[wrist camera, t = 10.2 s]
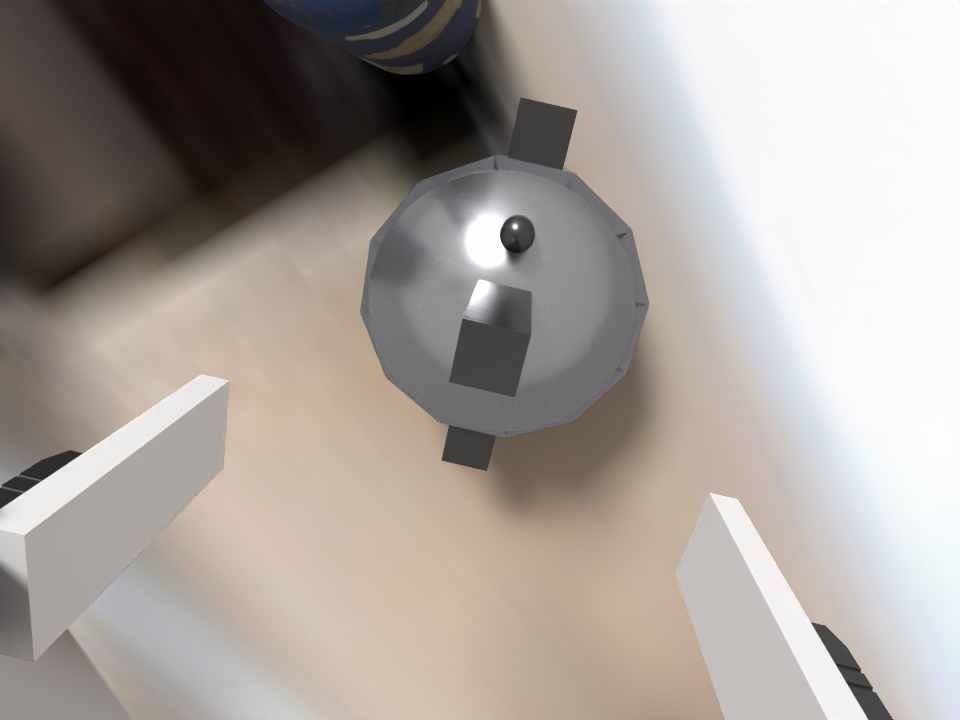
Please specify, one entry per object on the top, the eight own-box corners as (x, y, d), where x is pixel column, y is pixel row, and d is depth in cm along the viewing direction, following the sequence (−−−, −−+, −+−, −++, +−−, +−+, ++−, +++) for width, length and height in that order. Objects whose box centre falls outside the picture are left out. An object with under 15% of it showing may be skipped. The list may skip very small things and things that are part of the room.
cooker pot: (379, 383, 46) (341, 442, 37) (428, 88, 39) (395, 67, 29) (574, 429, 46) (585, 500, 37) (662, 141, 39) (704, 138, 29)
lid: (363, 383, 38) (303, 466, 28) (401, 142, 32) (342, 138, 22) (588, 435, 38) (608, 538, 28) (662, 202, 32) (719, 225, 22)
